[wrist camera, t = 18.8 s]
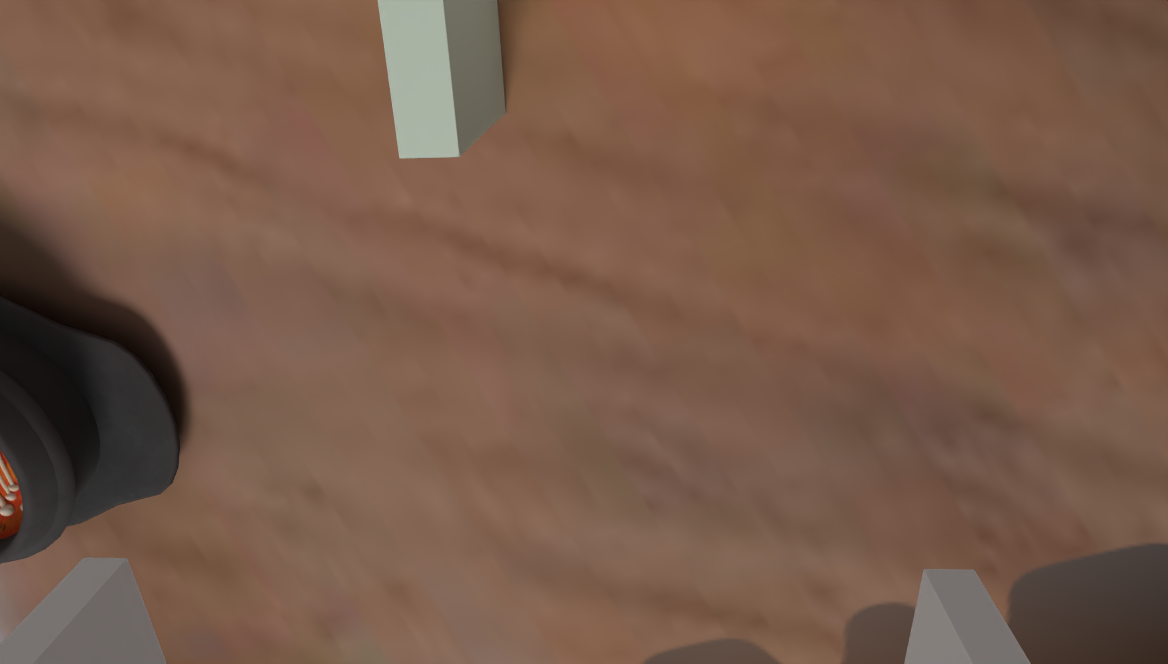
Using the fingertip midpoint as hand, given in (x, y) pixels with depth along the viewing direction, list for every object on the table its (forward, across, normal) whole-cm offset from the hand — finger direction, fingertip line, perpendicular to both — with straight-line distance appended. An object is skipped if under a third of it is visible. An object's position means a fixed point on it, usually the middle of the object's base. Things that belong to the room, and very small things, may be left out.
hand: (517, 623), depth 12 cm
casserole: (+32, +40, +14) cm, 53 cm away
